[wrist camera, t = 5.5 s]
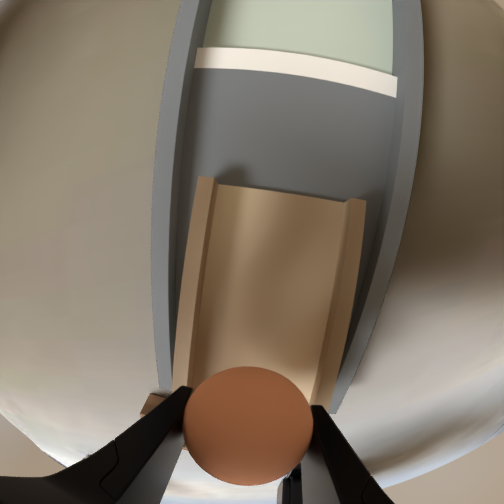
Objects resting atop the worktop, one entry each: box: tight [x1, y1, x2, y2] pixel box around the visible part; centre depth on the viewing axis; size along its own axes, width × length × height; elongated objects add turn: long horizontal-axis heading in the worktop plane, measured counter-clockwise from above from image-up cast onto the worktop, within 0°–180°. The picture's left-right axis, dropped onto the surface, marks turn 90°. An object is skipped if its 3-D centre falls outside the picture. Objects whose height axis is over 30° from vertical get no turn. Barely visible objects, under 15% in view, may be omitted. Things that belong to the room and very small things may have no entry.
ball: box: [182, 366, 313, 486], centre depth 8 cm, size 4×4×4 cm
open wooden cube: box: [140, 394, 188, 450], centre depth 17 cm, size 3×3×2 cm
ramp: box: [172, 176, 366, 413], centre depth 11 cm, size 6×10×6 cm, turn 173°
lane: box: [151, 0, 424, 414], centre depth 10 cm, size 10×25×4 cm, turn 173°
